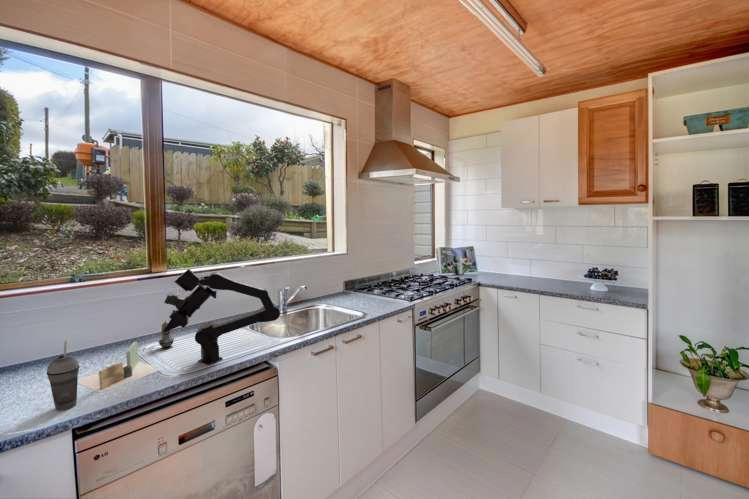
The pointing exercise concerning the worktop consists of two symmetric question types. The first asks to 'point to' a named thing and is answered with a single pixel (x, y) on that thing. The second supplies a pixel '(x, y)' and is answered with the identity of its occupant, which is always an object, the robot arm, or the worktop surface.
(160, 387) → the worktop surface
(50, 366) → the beverage cup
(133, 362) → the fence panel
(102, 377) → the tan dark-tipped bar
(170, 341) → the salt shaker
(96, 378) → the card
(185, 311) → the robot arm
